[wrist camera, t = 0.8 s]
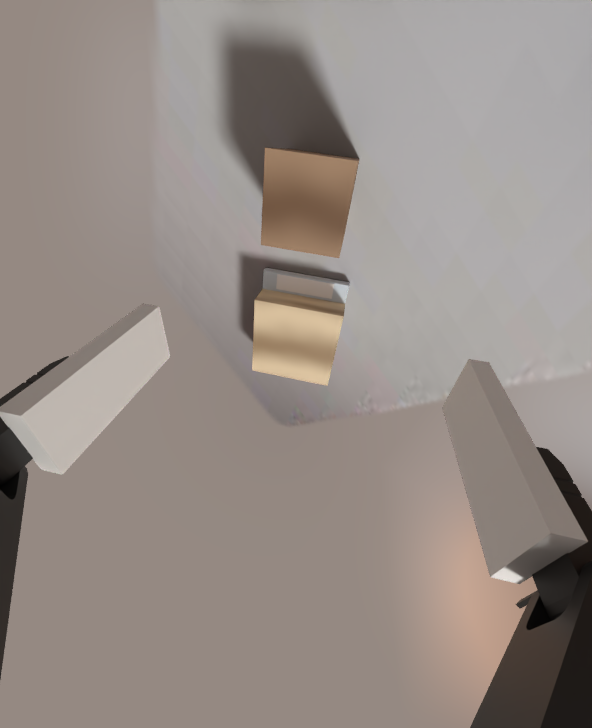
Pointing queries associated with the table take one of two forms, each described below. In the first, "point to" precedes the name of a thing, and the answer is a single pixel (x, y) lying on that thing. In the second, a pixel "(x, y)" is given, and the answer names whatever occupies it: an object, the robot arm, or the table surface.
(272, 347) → the oak plinth
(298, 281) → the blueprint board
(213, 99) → the table surface
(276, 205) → the walnut block
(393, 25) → the table surface
